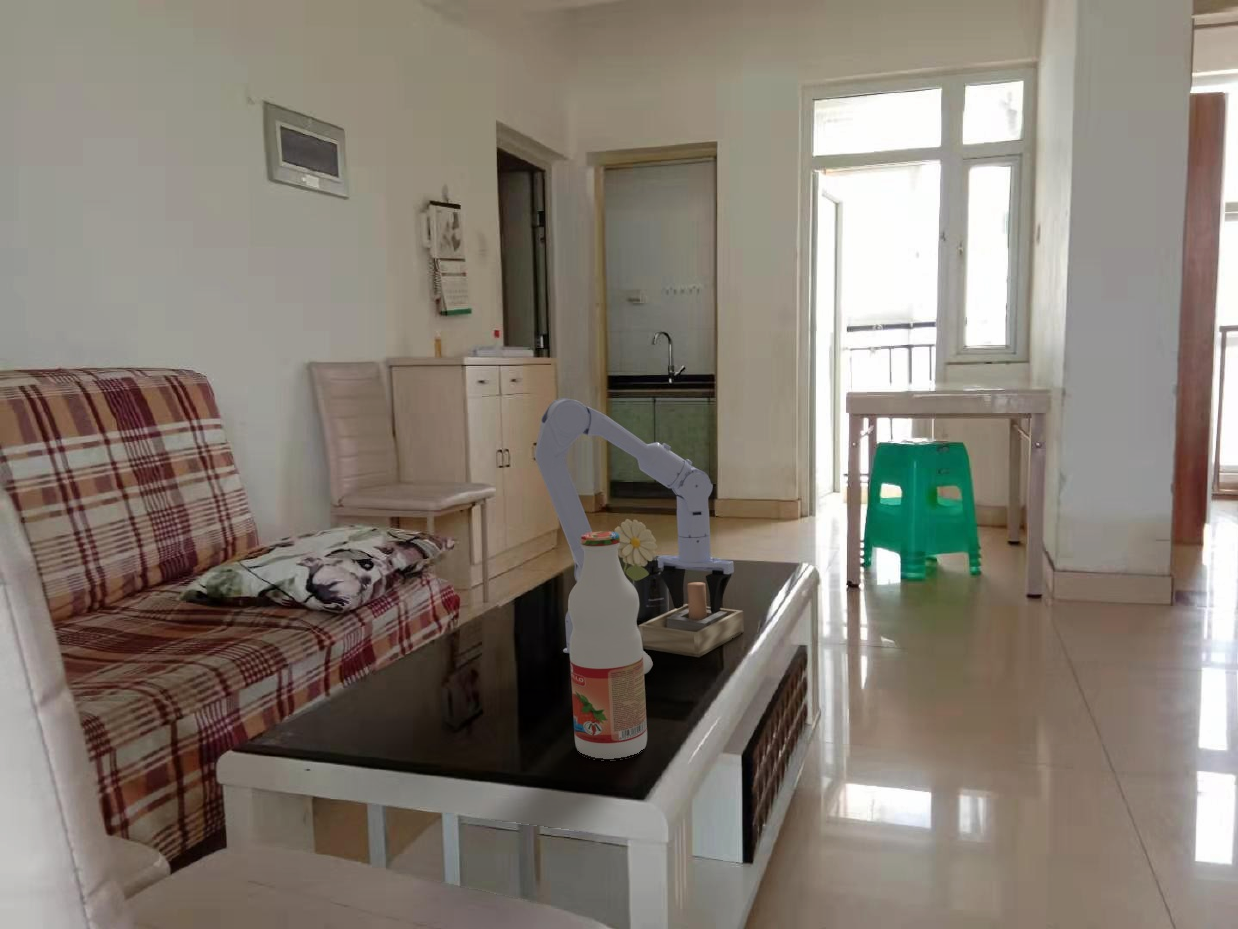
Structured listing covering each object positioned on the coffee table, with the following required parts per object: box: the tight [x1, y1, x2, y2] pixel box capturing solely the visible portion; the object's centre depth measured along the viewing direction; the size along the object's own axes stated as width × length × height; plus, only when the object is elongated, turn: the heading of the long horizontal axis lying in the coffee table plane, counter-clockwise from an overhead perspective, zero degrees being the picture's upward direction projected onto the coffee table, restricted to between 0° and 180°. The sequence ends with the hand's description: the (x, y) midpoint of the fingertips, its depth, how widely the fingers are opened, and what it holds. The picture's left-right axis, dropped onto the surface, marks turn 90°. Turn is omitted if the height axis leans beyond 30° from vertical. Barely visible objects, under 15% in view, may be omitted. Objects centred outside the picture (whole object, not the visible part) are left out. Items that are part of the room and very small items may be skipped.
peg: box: [687, 581, 707, 620], centre depth 167 cm, size 3×3×9 cm
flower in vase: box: [614, 518, 658, 675], centre depth 147 cm, size 13×11×25 cm
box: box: [637, 603, 745, 658], centre depth 165 cm, size 16×12×4 cm
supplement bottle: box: [632, 555, 670, 623], centre depth 180 cm, size 7×7×12 cm
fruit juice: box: [567, 530, 648, 759], centre depth 119 cm, size 9×9×28 cm
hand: (697, 609), depth 166 cm, fingers open, 7 cm apart
